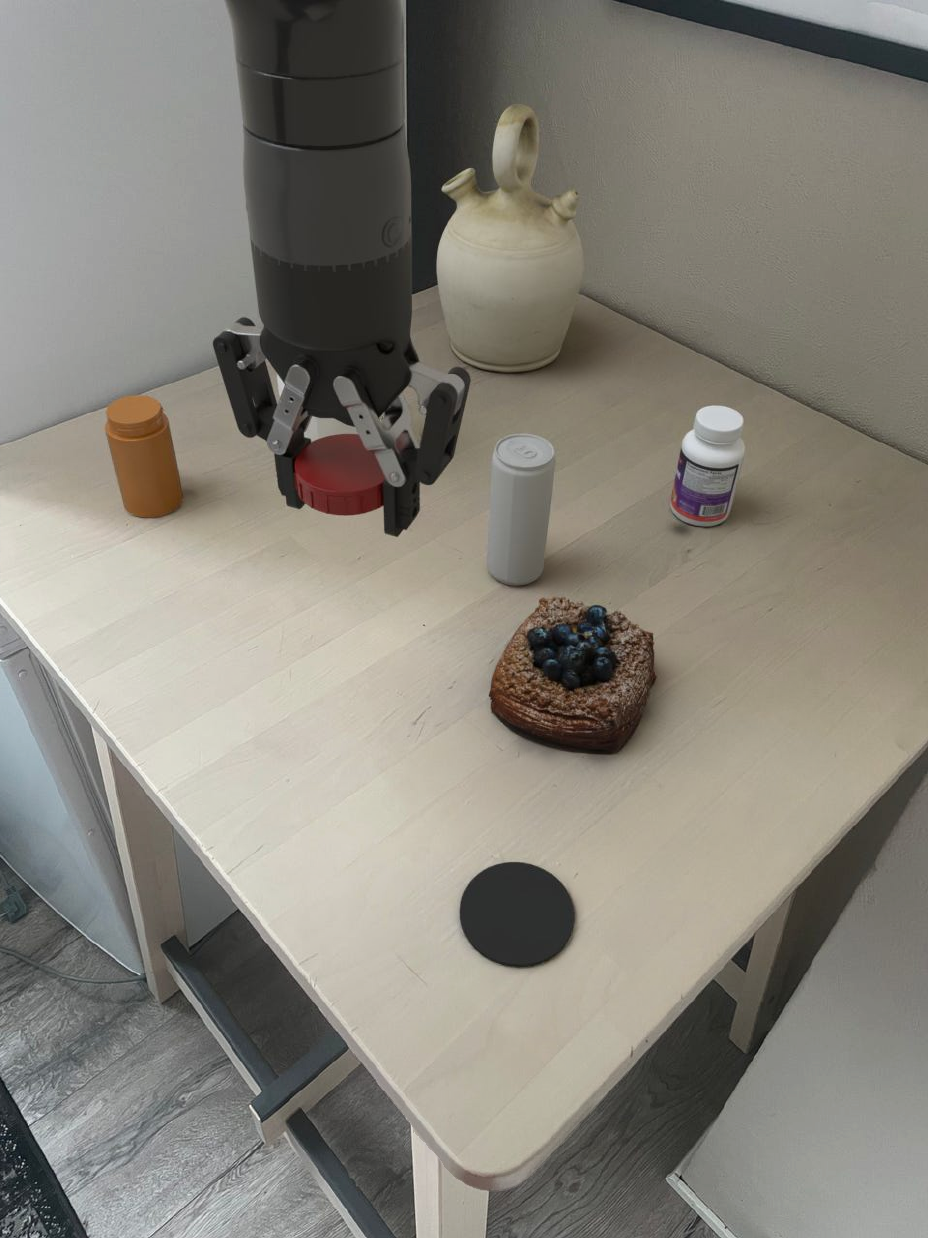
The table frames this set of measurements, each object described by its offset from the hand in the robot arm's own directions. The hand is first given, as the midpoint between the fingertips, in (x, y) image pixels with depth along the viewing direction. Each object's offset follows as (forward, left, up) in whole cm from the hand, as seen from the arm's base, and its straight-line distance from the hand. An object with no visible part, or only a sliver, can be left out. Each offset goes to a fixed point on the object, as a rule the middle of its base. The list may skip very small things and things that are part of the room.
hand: (348, 512), depth 59 cm
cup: (+29, +19, -20) cm, 40 cm away
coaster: (-9, -15, -20) cm, 26 cm away
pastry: (+10, -12, -20) cm, 25 cm away
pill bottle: (+36, -15, -20) cm, 44 cm away
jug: (+56, +12, -20) cm, 61 cm away
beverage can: (+21, -3, -20) cm, 29 cm away
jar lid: (0, 0, +3) cm, 3 cm away
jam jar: (+16, +30, -20) cm, 39 cm away
